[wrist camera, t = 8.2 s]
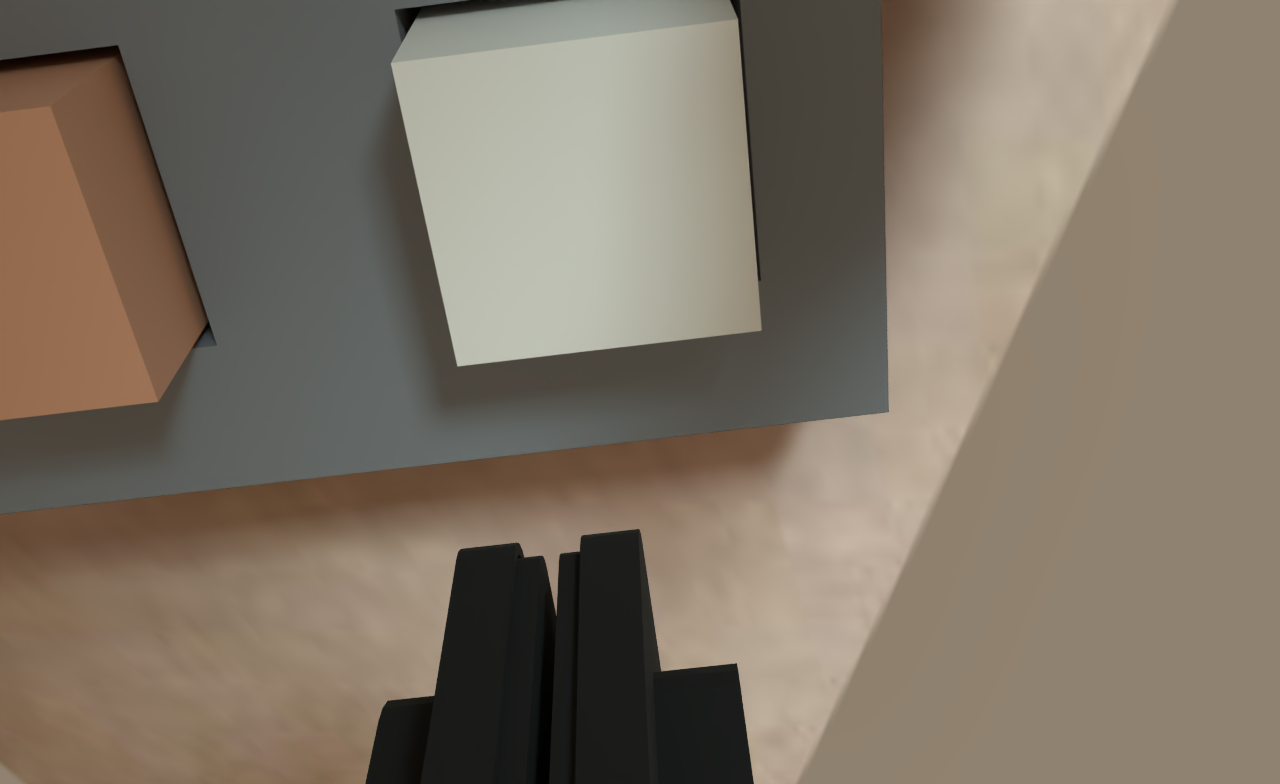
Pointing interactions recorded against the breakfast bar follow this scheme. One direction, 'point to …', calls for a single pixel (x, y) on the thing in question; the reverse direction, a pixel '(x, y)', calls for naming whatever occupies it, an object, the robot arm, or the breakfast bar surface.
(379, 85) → the key panel
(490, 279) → the cream key
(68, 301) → the rust key
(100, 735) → the breakfast bar surface
